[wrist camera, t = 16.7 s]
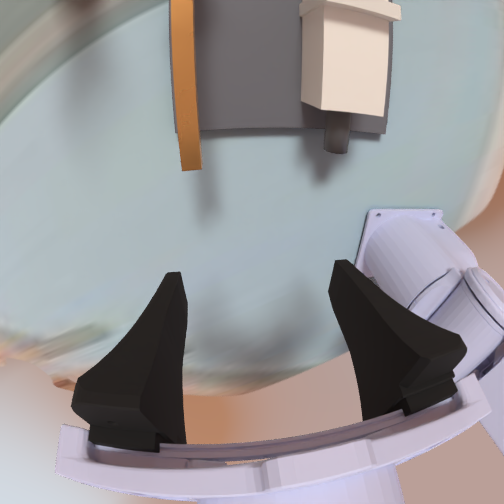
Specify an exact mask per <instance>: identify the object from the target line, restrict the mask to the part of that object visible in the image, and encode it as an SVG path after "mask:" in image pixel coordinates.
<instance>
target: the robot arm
mask: <svg viewBox="0 0 504 504" xmlns="http://www.w3.org/2000/svg"><path fill="white" fill-rule="evenodd" d="M378 213H379V215H378V216H376V215H377V214H378ZM442 216H443V211H442V210H441V209H371V210H370V211H369V212H368V214H367V219H366V223H365V228H364V232H363V236H362V240H361V244H360V248H359V252H358V256H357V260H356V264H355V266H354V265H353V264H352V263H351V262H349V261H348V260H347V259H345V260H335V263H334V268H333V272H332V277H331V281H330V286H329V290H328V293H329V297H330V300H331V304H332V308H333V311H334V313H335V316H336V318H337V321H338V323H339V325H340V328H341V330H342V333H343V335H344V338H345V340H346V343H347V345H348V348H349V351H350V354H351V358H352V362H353V366H354V370H355V374H356V378H357V383H358V388H359V395H360V401H361V408H362V417H363V421H362V422H359V423H356V424H352V425H348V426H344V427H339V428H335V429H331V430H326V431H322V432H317V433H312V434H307V435H301V436H295V437H288V438H282V439H274V440H266V441H256V442H245V443H232V444H197V445H195V444H187V443H186V434H185V425H184V410H183V389H182V366H183V355H184V347H185V338H186V330H187V316H188V302H187V298H186V294H185V290H184V285H183V281H182V277H181V272H168V273H167V274H166V275H165V277H164V279H163V280H162V282H161V284H160V286H159V287H158V289H157V291H156V293H155V294H154V296H153V297H152V299H151V301H150V302H149V304H148V305H147V307H146V309H145V310H144V311H143V313H142V314H141V316H140V317H139V319H138V320H137V321H136V323H135V324H134V325H133V327H132V328H131V329H130V330H129V332H128V333H127V334H126V335H125V337H124V338H123V339H122V340H121V341H120V342H119V343H118V344H117V345H116V346H115V347H114V348H113V350H112V351H111V352H109V353H108V354H107V355H106V356H105V357H104V358H103V359H102V360H101V361H100V362H99V363H97V364H96V365H95V366H94V367H92V368H91V369H90V370H88V371H87V372H86V373H84V374H83V375H82V376H80V377H79V378H78V380H77V383H76V386H75V390H74V394H73V399H72V404H71V407H72V409H73V411H74V412H75V413H76V414H77V415H78V416H80V417H81V418H82V419H84V420H85V421H86V422H87V423H89V424H90V430H86V429H83V428H80V427H75V426H70V425H66V424H62V425H61V430H60V437H59V443H58V450H57V457H56V466H55V473H56V474H58V475H60V476H63V477H65V478H69V479H71V480H74V481H77V482H80V483H83V484H86V485H89V486H93V487H97V488H101V489H106V490H110V491H115V492H120V493H125V494H130V495H136V496H143V497H150V498H158V499H167V500H179V501H197V504H405V501H404V498H403V493H402V490H401V486H400V482H399V479H398V475H397V471H396V468H395V466H396V465H399V464H401V463H403V462H405V461H408V460H410V459H412V458H414V457H416V456H419V455H421V454H423V453H425V452H427V451H429V450H430V449H433V448H435V447H437V446H439V445H441V444H442V443H444V442H446V441H448V440H450V439H451V438H453V437H455V436H457V435H458V434H460V433H462V432H463V431H465V430H466V429H468V428H469V427H471V426H472V425H474V424H475V423H476V422H478V421H479V422H480V423H481V424H482V426H483V427H484V429H485V430H486V431H487V432H488V434H489V435H490V437H491V438H492V439H493V441H494V443H495V444H496V445H497V447H498V448H499V450H500V451H501V452H502V454H503V456H504V290H503V289H502V288H501V286H500V285H499V284H498V283H497V282H496V281H495V280H494V279H493V278H492V277H491V276H490V275H489V274H488V273H487V272H485V271H484V270H482V269H481V268H479V267H478V263H477V260H476V258H475V255H474V254H473V252H472V251H471V250H470V249H469V247H468V246H467V245H466V244H465V243H464V242H463V241H462V240H461V239H460V238H459V237H458V236H457V235H456V234H455V233H454V232H453V231H452V230H451V229H450V228H449V227H448V226H447V225H446V224H445V223H444V222H443V221H442V220H441V219H442ZM368 277H374V278H375V280H376V281H377V283H378V285H379V286H380V288H381V289H380V288H379V287H378V286H376V285H375V284H374V283H373V282H372V281H371V280H370V279H368ZM264 458H270V459H267V460H264V461H257V462H251V463H244V464H235V465H227V464H226V463H225V461H242V460H254V459H264Z"/></svg>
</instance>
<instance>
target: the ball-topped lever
mask: <svg viewBox="0 0 504 504" xmlns="http://www.w3.org/2000/svg"><path fill="white" fill-rule="evenodd" d="M171 36H172V60H173V78H174V93H175V106H176V117H177V128H178V138H179V148H180V157H181V166H182V171H189V170H200V169H202V164H203V162H202V150H201V138H200V124H199V109H198V92H197V73H196V49H195V4H194V0H171Z"/></svg>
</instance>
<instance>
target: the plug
mask: <svg viewBox="0 0 504 504" xmlns="http://www.w3.org/2000/svg"><path fill="white" fill-rule="evenodd" d="M299 17H302V80H301V101H302V102H305V103H307V104H309V105H312V106H314V107H316V108H319V109H321V110H327V111H326V125H325V137H324V150H325V151H328V152H331V153H336V154H345V153H347V150H348V141H349V132H350V122H351V112H352V113H360V114H368V115H375V116H381V117H383V115H384V106H385V96H386V84H387V70H388V48H389V22H393V21H401V6H400V5H397V4H394V3H391V2H388V0H302V3H300V4H299Z"/></svg>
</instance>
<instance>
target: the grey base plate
mask: <svg viewBox="0 0 504 504" xmlns="http://www.w3.org/2000/svg"><path fill="white" fill-rule="evenodd" d="M388 2H391V3H392V0H388ZM300 3H302V0H194V4H195V49H196V73H197V92H198V109H199V124H200V131H203V130H217V129H234V128H318V129H325V125H326V111H327V110H321V109H319V108H316V107H314V106H312V105H309V104H307V103H305V102H302V101H301V80H302V17H299V4H300ZM169 42H170V66H171V84H172V99H173V111H174V123H175V133H178V128H177V117H176V106H175V93H174V78H173V60H172V36H171V0H169ZM392 51H393V22H389V48H388V70H387V84H386V96H385V106H384V115H383V117H381V116H375V115H368V114H360V113H352V112H351V122H350V131H360V132H369V133H378V134H385V133H386V125H387V117H388V108H389V98H390V87H391V72H392Z"/></svg>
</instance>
